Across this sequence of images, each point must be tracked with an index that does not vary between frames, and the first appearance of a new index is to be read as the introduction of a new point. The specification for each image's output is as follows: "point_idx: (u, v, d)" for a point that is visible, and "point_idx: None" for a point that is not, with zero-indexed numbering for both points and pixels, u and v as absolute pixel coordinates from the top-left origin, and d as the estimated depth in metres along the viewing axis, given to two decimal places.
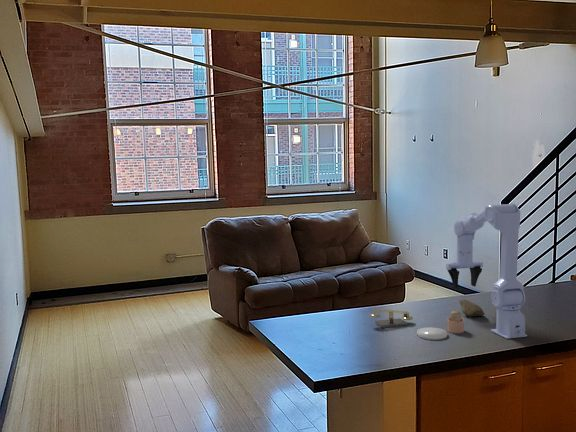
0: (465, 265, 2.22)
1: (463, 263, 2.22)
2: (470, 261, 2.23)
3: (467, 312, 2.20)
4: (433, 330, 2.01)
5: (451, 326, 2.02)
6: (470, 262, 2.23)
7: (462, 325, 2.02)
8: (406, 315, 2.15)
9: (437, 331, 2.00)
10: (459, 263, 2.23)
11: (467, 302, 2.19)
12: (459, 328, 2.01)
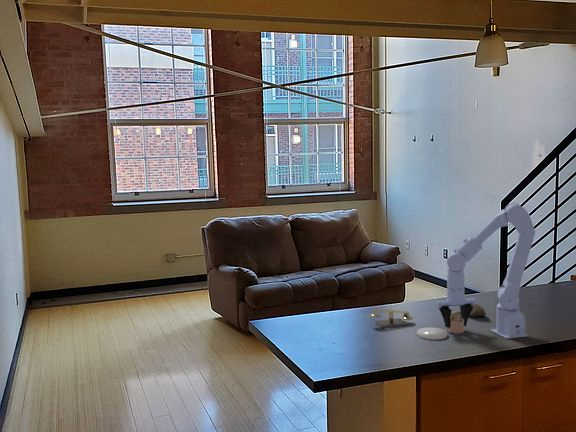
0: (456, 303, 2.00)
1: (454, 301, 2.01)
2: (462, 299, 2.01)
3: None
4: (433, 330, 2.01)
5: (451, 326, 2.02)
6: (462, 300, 2.01)
7: (462, 325, 2.02)
8: (406, 315, 2.15)
9: (437, 331, 2.00)
10: (449, 301, 2.02)
11: None
12: (459, 328, 2.01)
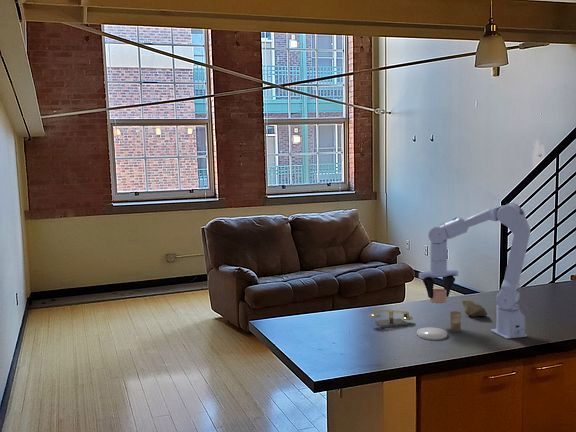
0: (439, 274, 2.08)
1: (437, 272, 2.08)
2: (444, 270, 2.08)
3: (470, 312, 2.20)
4: (433, 330, 2.01)
5: (433, 296, 2.09)
6: (444, 271, 2.08)
7: (444, 296, 2.09)
8: (406, 315, 2.15)
9: (437, 331, 2.00)
10: (432, 272, 2.09)
11: (470, 302, 2.19)
12: (441, 298, 2.09)
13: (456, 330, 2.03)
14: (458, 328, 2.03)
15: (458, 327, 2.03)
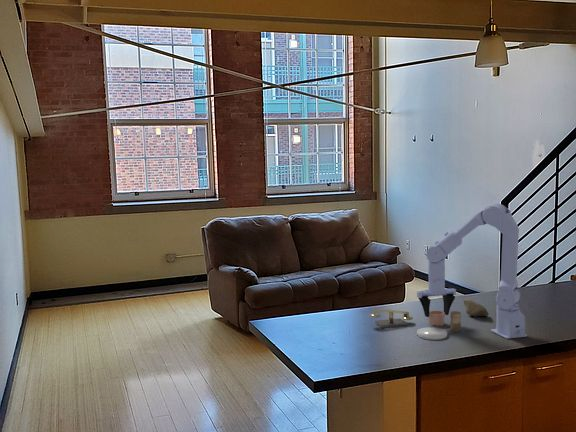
0: (437, 293, 2.09)
1: (435, 291, 2.10)
2: (442, 289, 2.10)
3: (471, 312, 2.19)
4: (433, 330, 2.01)
5: (432, 318, 2.11)
6: (442, 290, 2.10)
7: (443, 318, 2.11)
8: (406, 315, 2.15)
9: (437, 331, 2.00)
10: (430, 291, 2.11)
11: (471, 302, 2.19)
12: (439, 320, 2.11)
13: (456, 330, 2.03)
14: (458, 328, 2.03)
15: (458, 327, 2.03)
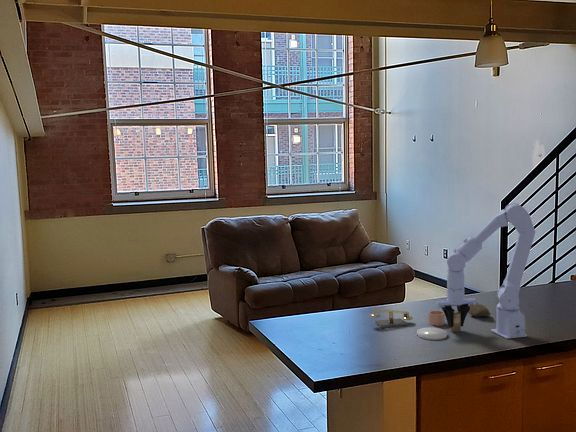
0: (456, 303, 2.00)
1: (454, 301, 2.01)
2: (462, 299, 2.01)
3: (473, 312, 2.19)
4: (433, 330, 2.01)
5: (432, 318, 2.11)
6: (462, 300, 2.01)
7: (443, 318, 2.11)
8: (406, 315, 2.15)
9: (437, 331, 2.00)
10: (449, 301, 2.02)
11: None
12: (439, 320, 2.11)
13: (456, 330, 2.03)
14: (458, 328, 2.03)
15: (458, 327, 2.03)
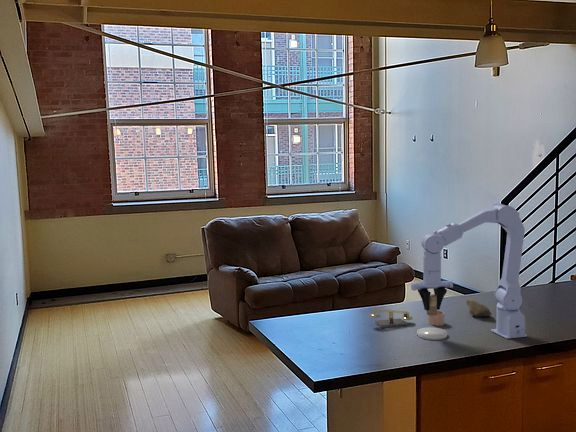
0: (432, 285, 1.95)
1: (430, 283, 1.96)
2: (438, 281, 1.96)
3: (474, 312, 2.19)
4: (433, 330, 2.01)
5: (432, 318, 2.11)
6: (438, 282, 1.96)
7: (443, 318, 2.11)
8: (406, 315, 2.15)
9: (437, 331, 2.00)
10: (425, 283, 1.97)
11: (474, 302, 2.19)
12: (439, 320, 2.11)
13: (432, 313, 1.98)
14: (435, 312, 1.98)
15: (434, 310, 1.98)
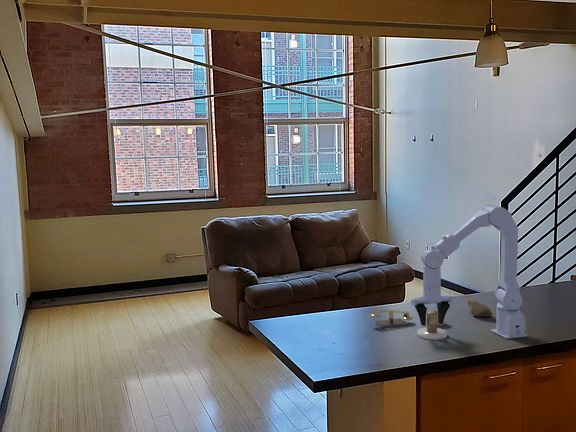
0: (432, 301, 1.96)
1: (430, 298, 1.96)
2: (438, 296, 1.96)
3: (475, 312, 2.19)
4: None
5: None
6: (438, 297, 1.96)
7: None
8: (406, 315, 2.15)
9: (437, 331, 2.00)
10: (425, 298, 1.97)
11: (475, 302, 2.19)
12: None
13: (432, 330, 1.98)
14: (435, 329, 1.98)
15: (434, 328, 1.98)
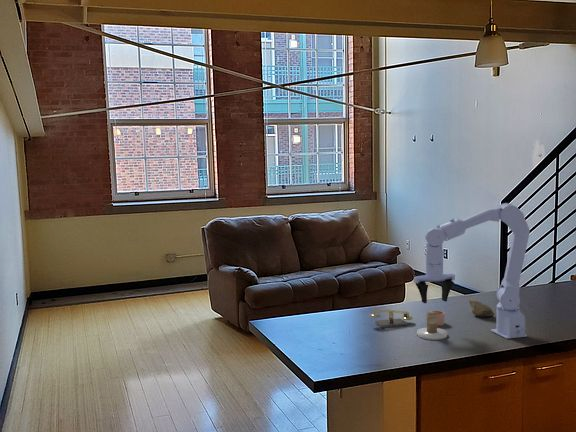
0: (434, 278, 2.00)
1: (432, 276, 2.00)
2: (440, 274, 2.00)
3: (477, 312, 2.19)
4: None
5: None
6: (440, 275, 2.00)
7: (443, 318, 2.11)
8: (406, 315, 2.15)
9: (437, 331, 2.00)
10: (428, 276, 2.01)
11: (476, 302, 2.19)
12: (439, 320, 2.11)
13: (432, 330, 1.98)
14: (435, 329, 1.98)
15: (434, 328, 1.98)
